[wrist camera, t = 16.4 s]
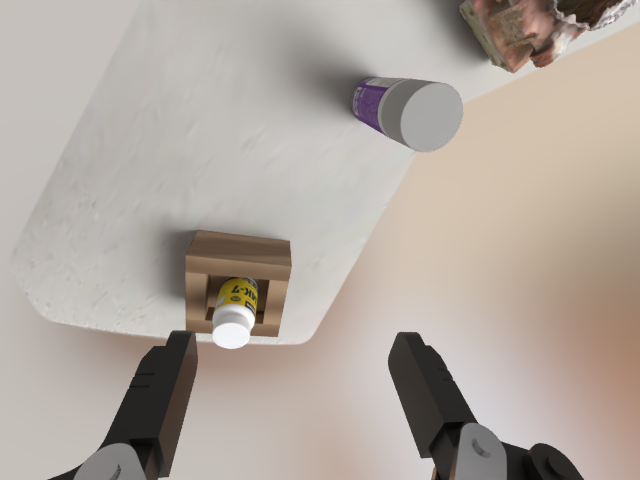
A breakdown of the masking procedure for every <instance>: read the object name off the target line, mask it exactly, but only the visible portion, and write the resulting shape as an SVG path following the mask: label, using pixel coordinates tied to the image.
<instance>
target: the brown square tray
mask: <svg viewBox="0 0 640 480" xmlns="http://www.w3.org/2000/svg"><path fill="white" fill-rule="evenodd" d="M291 267H292V264H291V251H290V241H284V240H276V239H268V238H260V237H251V236H243V235H235V234H227V233H218V232H210V231H202V230H198V231H197V233H196V235H195V237H194V239H193V241H192V243H191V245H190V247H189V249H188V251H187V253H186V255H185V290H186V331H195V333H209V334H212V331H213V326H214V325H213V321H212V319H213V314H214V310H215V306H216V303H217V299H218V296H219V292H220V289H221V285H222V283H223V282H224V280H225V279H226V278H228V277H230V276H232V277H243V278H252V279H253V280H254V281H255V282H256V284H257V287H258V295H257V305H256V315H255V323H254V326H253V327H252V329H251V332H250V336H268V337H278V333H279V328H280V323H281V318H282V313H283V308H284V303H285V298H286V292H287V287H288V282H289V277H290V272H291Z"/></svg>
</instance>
